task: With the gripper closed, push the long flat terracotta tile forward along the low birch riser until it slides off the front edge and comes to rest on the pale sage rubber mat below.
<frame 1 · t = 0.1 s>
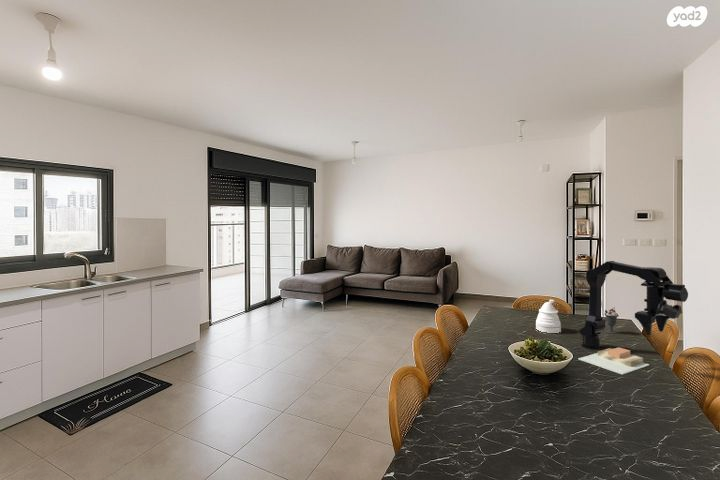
hand: (654, 333, 155), 15 cm above the table, tool pointing down, fingers open, 9 cm apart
sundae: (611, 332, 201), on the table
birch riser: (619, 360, 163), resting on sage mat
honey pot: (548, 330, 209), on the table
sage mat: (612, 362, 161), on the table
terracotta tile: (619, 354, 163), point 2 cm above the table, touching birch riser
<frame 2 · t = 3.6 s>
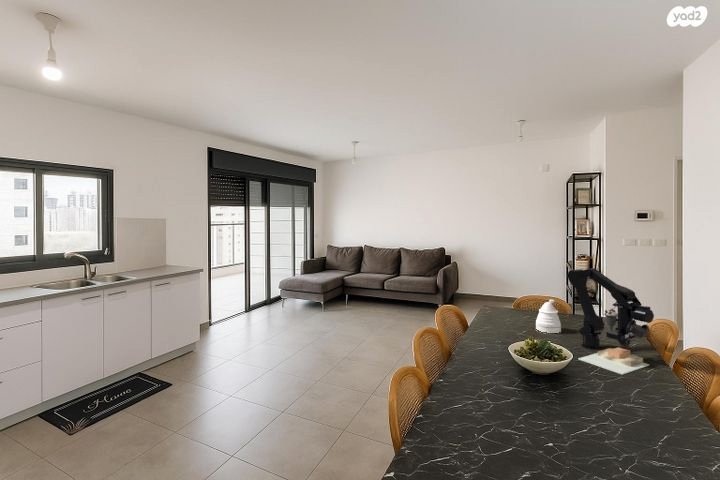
hand: (625, 350, 165), 4 cm above the table, tool pointing down, fingers closed
terracotta tile: (618, 354, 163), point 3 cm above the table, touching gripper
everything else where it was.
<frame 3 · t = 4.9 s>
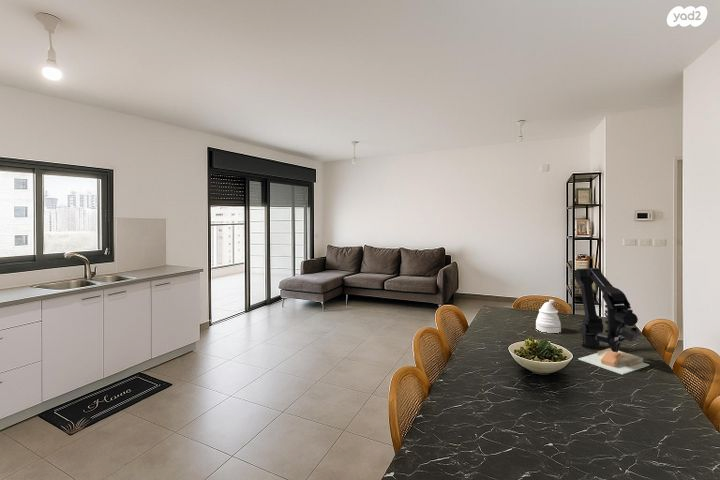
hand: (615, 353, 162), 4 cm above the table, tool pointing down, fingers closed
terracotta tile: (611, 360, 159), point 2 cm above the table, tilted 17°, touching gripper
everything else where it was.
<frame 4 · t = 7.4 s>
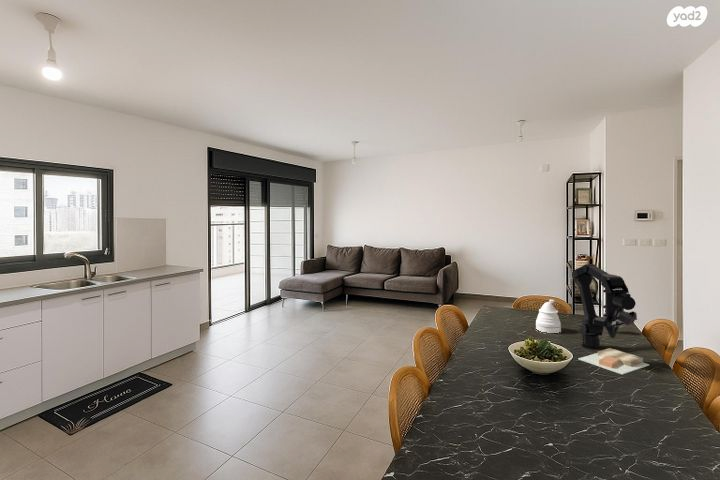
hand: (612, 338, 163), 10 cm above the table, tool pointing down, fingers closed
terracotta tile: (609, 364, 159), resting on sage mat
everything else where it was.
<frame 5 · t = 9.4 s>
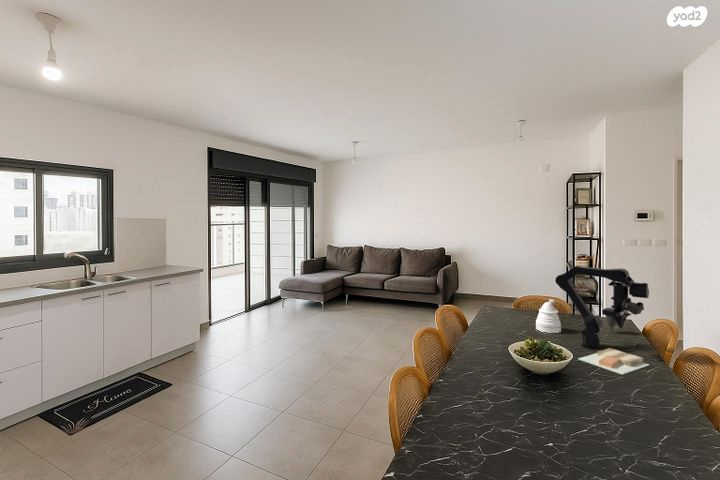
hand: (620, 327, 171), 12 cm above the table, tool pointing down, fingers closed
nothing on the table moved.
at the end: terracotta tile inside the target area (2.2 cm from its centre), resting on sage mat; terracotta tile touching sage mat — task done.
